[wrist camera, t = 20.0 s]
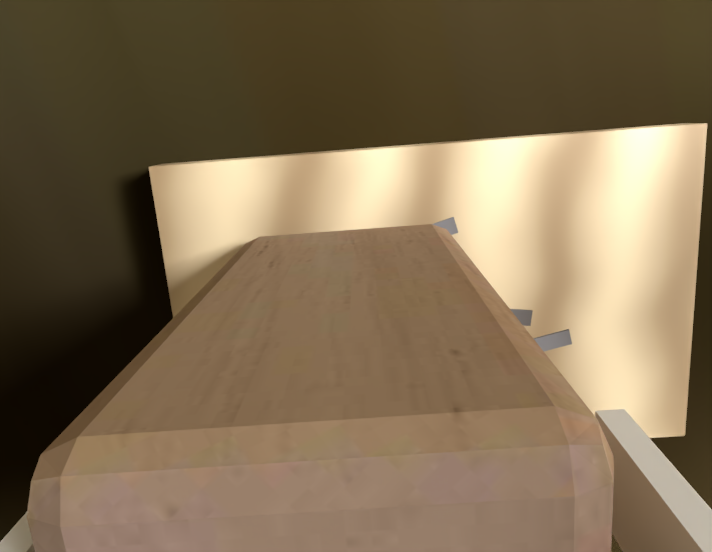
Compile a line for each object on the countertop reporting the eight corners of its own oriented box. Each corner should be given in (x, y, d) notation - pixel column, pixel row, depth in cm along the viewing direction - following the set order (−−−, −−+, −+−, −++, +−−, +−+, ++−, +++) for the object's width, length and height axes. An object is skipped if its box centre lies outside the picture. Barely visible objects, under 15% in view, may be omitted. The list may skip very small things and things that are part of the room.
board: (684, 123, 29) (708, 123, 27) (665, 417, 33) (686, 436, 31) (162, 163, 30) (147, 166, 28) (206, 446, 34) (197, 467, 32)
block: (456, 408, 31) (619, 903, 11) (266, 421, 31) (103, 923, 11) (449, 218, 28) (644, 433, 9) (242, 234, 28) (-18, 474, 9)
